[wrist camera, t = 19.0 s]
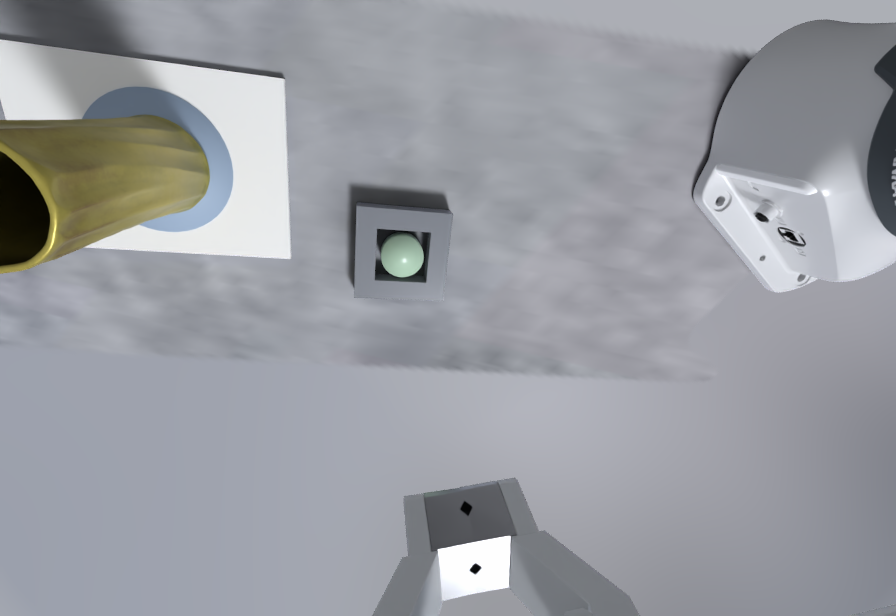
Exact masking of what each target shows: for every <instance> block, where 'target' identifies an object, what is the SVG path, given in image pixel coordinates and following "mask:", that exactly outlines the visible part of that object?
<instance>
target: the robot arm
mask: <svg viewBox="0 0 896 616" xmlns="http://www.w3.org/2000/svg"><path fill="white" fill-rule="evenodd" d="M693 197H694V201H695V203H696V204H697V205H698V207H699V208H700V209H701V210H702V212H703V213H704V214H705V215H706V216H707V218H708V219H709V220H710V221H711V223H712V224H713V225H714V226H715V227H716V229H717V230H718V231H719V232H720V234H721V235H722V236H723V237H724V238H725V240H726V241H727V242H728V243H729V245H730V246H731V247H732V248H733V249H734V251H735V252H736V253H737V254H738V256H739V257H740V258H741V259H742V260H743V262H744V263H745V264H746V265H747V267H748V268H749V269H750V270H751V271H752V273H753V274H754V275H755V276H756V277H757V279H758V280H759V281H760V282H761V284H762V285H763V286H764V287H765V288H766V289H767V290H770V291H773V292H784V291H790V290H793V289H796V288H799V287H802V286H804V285H807V284H809V283H810V282H813V281H814V280H817V279H823V280H827V281H833V282H845V281H853V280H857V279H861V278H863V277H866V276H869V275H871V274H873V273H876V272H878V271H880V270H882V269H884V268H886V267H888V266H889V265H891V264H893V263H894V262H896V23H880V24H879V23H878V24H876V23H875V24H864V23H848V22H839V21H834V20H833V21H832V20H815V21H810V22H806V23H803V24H800V25H797V26H795V27H793V28H791V29H788V30H787V31H785V32H783V33H782V34H780V35H779V36H777V37H775V38H774V39H773V40H772V41H770V42H769V43H768V44H766V45H765V46H764V47H763V48H762V49H761V50H760V51H759V52H758V53H757V54H756V55H755V56H754V57H753V58H752V59H751V60H750V61H749V63H748V64H747V65H746V66H745V68H744V69H743V70H742V72H741V73H740V74H739V76H738V77H737V79H736V80H735V82H734V84H733V85H732V87H731V89H730V91H729V93H728V94H727V96H726V99H725V101H724V103H723V105H722V108H721V110H720V113H719V116H718V119H717V123H716V127H715V131H714V136H713V142H712V147H711V152H710V156H709V159H708V162H707V163H706V165H705V167H704V169H703V171H702V173H701V175H700V177H699V179H698V181H697V183H696V186H695V189H694V193H693ZM717 198H718V202H717V203H716V200H717ZM404 514H405V525H406V537H407V548H408V556H407V557H402V559H401V561H400V563H399V565H398V567H397V569H396V571H395V573H394V574H393V576H392V579H391V581H390V582H389V584H388V586H387V588H386V590H385V592H384V594H383V596H382V598H381V600H380V602H379V604H378V606H377V608H376V609H375V611H374V613H373V616H438V615H439V612H440V609H441V606H442V601H444V600H448V599H453V598H457V597H461V596H465V595H469V594H474V593H478V592H484V591H490V590H495V589H501V588H507V587H510V590H511V591H512V592H513V593H514V594H515V595H516V596H517V598H518V599H519V600H520V601H521V602H522V603H523V604H524V605H525V606H526V608H527V609H528V610H529V611H530V612H531V613H532V614H533V615H534V616H640V615H639V613H638V611H637V609H636V608H635V606H634V604H633V602H632V600H631V598H630V597H629V596H628V595H627V594H626V593H624V592H623V591H622V590H621V589H619V588H618V587H617V586H615V585H614V584H613V583H612V582H610V581H609V580H608V579H606V578H605V577H604V576H603V575H601V574H600V573H599V572H597V571H596V570H595V569H594V568H592V567H591V566H590V565H588V564H587V563H586V562H585V561H583V560H582V559H581V558H579V557H578V556H577V555H576V554H574V553H573V552H572V551H570V550H569V549H568V548H566V547H565V546H564V545H563V544H561V543H560V542H559V541H557V540H556V539H555V538H554V537H552V536H551V535H550V534H549V533H547V532H546V531H539V530H538V528H537V526H536V523H535V521H534V519H533V516H532V513H531V511H530V509H529V506H528V504H527V502H526V499H525V497H524V494H523V492H522V490H521V487H520V485H519V482H518V480H517V479H516V478H510V479H504V480H499V481H492V482H486V483H481V484H475V485H470V486H464V487H460V488H456V489H449V490H442V491H435V492H428V493H423V494H416V495H409V496H404ZM851 616H896V604H895V605H891V606H887V607H883V608H879V609H875V610H871V611H867V612H862V613H858V614H854V615H851Z"/></svg>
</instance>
